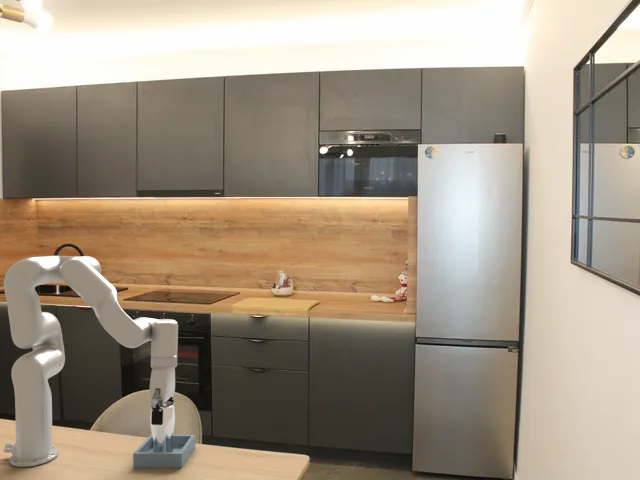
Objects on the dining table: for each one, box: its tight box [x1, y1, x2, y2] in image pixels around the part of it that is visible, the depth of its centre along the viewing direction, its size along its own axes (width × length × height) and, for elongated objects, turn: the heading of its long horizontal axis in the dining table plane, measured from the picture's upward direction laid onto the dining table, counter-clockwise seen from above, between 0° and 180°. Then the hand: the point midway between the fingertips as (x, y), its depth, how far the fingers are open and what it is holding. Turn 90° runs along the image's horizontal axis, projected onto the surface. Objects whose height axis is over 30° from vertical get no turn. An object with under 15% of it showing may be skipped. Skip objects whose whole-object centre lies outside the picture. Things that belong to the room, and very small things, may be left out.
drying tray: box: [132, 434, 196, 469], centre depth 155 cm, size 14×14×4 cm
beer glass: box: [149, 402, 176, 452], centre depth 153 cm, size 7×7×15 cm
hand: (162, 418), depth 154 cm, fingers open, 9 cm apart
